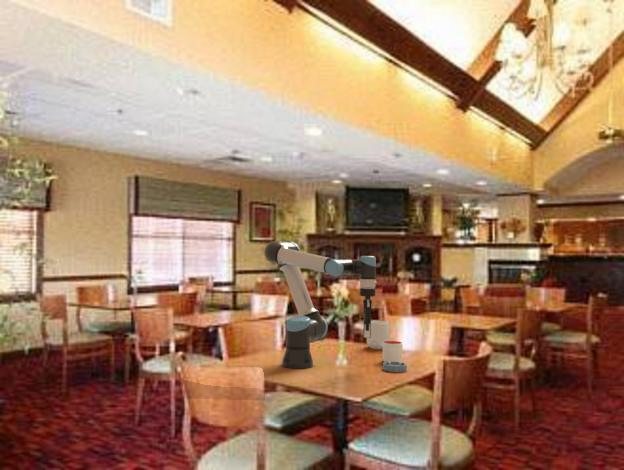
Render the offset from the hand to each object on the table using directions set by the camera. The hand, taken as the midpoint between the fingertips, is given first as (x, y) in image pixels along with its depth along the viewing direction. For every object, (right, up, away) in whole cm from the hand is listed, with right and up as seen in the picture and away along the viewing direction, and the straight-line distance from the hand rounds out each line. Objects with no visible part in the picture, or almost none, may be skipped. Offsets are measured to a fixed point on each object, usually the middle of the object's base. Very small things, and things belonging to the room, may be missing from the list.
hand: (366, 336), depth 283 cm
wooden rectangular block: (0, 0, 0) cm, 0 cm away
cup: (+15, -16, +18) cm, 29 cm away
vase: (+13, -17, +59) cm, 63 cm away
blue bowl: (+13, -16, -1) cm, 21 cm away
